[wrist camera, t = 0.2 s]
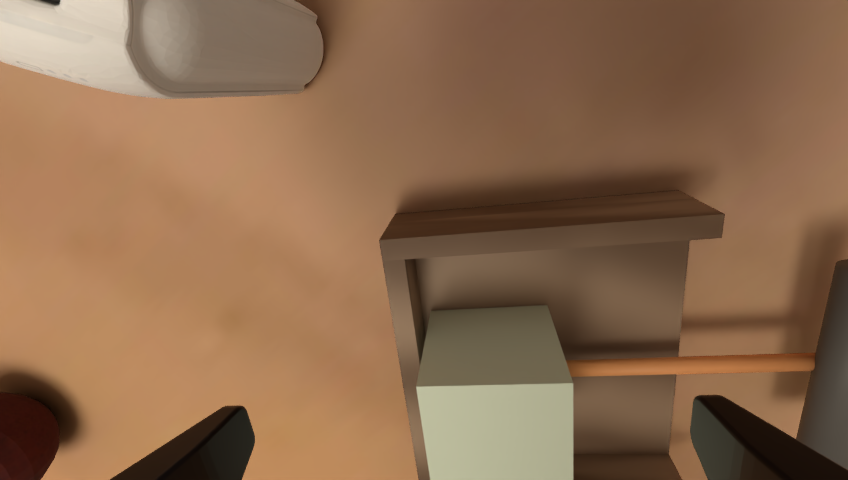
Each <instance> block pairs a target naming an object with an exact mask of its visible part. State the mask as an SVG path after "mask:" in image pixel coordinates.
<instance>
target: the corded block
mask: <svg viewBox="0 0 848 480" xmlns="http://www.w3.org/2000/svg"><path fill="white" fill-rule="evenodd" d="M790 371H811V376H810V380H809V385H808V389H807V393H806V398H805V402H804V407H803V411H802V415H801V420H800V424H799V429H798V433H797V437H796V440H798V441H800V442H801V443H803V444H805V445H806V446H808V447H810V448H812V449H813V450H815V451H817V452H818V453H820V454H822V455H823V456H825V457H827V458H829V459H830V460H832V461H834V462H835V463H837V464H839V465H840V466H842V467H844V468H845V469H847V470H848V260H841V261H838V262H837V263H836V266H835V270H834V275H833V279H832V283H831V288H830V292H829V297H828V301H827V305H826V310H825V314H824V319H823V323H822V327H821V332H820V336H819V341H818V345H817V349H816V353H793V354H759V355H726V356H693V357H660V358H627V359H593V360H565V357H564V354H563V351H562V348H561V345H560V342H559V339H558V336H557V333H556V330H555V327H554V324H553V321H552V318H551V315H550V312H549V309H548V306H547V305H537V306H517V307H496V308H476V309H455V310H435V311H431V312H430V318H429V323H428V328H427V333H426V338H425V343H424V348H423V354H422V359H421V364H420V369H419V374H418V379H417V385H416V389H417V396H418V403H419V409H420V416H421V422H422V429H423V435H424V442H425V448H426V455H427V462H428V468H429V475H430V480H573V381H572V378H571V377H586V376H627V375H667V374H708V373H749V372H790Z"/></svg>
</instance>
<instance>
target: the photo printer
mask: <svg viewBox="0 0 848 480" xmlns="http://www.w3.org/2000/svg"><path fill="white" fill-rule="evenodd" d="M316 21H317V15H316V14H315V13H314V12H312V11H311V10H309V9H308V8H306V7H305V6H303V5H302V4H300V3H298V2H296V1H295V0H0V61H1V62H4V63H7V64H10V65H14V66H17V67H20V68H24V69H27V70H31V71H34V72H38V73H41V74H45V75H48V76H52V77H55V78H59V79H63V80H66V81H70V82H74V83H78V84H82V85H86V86H90V87H94V88H98V89H102V90H106V91H111V92H116V93H121V94H127V95H134V96H141V97H151V98H164V99H185V98H214V97H239V96H264V95H284V94H298V93H301V92H303V91H304V86H305V84H307V83H309V82H310V81H311V80H312V79H313V78H314V77H315V75H316V74H317V72H318V70H319V68H320V66H321V62H322V58H323V39H322V35H321V32H320V29H319V27H318V26H317V24H316Z"/></svg>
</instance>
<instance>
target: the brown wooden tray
mask: <svg viewBox="0 0 848 480" xmlns="http://www.w3.org/2000/svg"><path fill="white" fill-rule="evenodd" d="M724 216H725V214H724V213H722V212H720V211H718V210H716V209H714V208H712V207H710V206H708V205H706V204H704V203H702V202H700V201H698V200H696V199H694V198H692V197H691V196H689V195H687V194H685V193H683V192H681V191H679V190H676V191H664V192H653V193H641V194H629V195H617V196H605V197H593V198H581V199H570V200H558V201H546V202H534V203H522V204H510V205H498V206H487V207H475V208H463V209H451V210H439V211H427V212H415V213H404V214H395V215H394V217H393V219H392V220H391V222H390V223H389V225H388V227H387V228H386V230H385V232H384V233H383V235H382V236H381V238H380V240H379V242H380V248H381V254H382V260H383V266H384V272H385V278H386V284H387V291H388V297H389V303H390V309H391V315H392V321H393V327H394V333H395V339H396V345H397V351H398V357H399V363H400V369H401V375H402V382H403V388H404V394H405V400H406V406H407V412H408V418H409V424H410V430H411V436H412V442H413V448H414V454H415V460H416V466H417V472H418V479H419V480H430V475H429V468H428V462H427V455H426V448H425V442H424V435H423V429H422V422H421V416H420V409H419V403H418V396H417V389H416V385H417V379H418V374H419V369H420V364H421V359H422V354H423V348H424V343H425V338H426V333H427V328H428V323H429V318H430V312H431V311H435V310H455V309H476V308H496V307H517V306H537V305H547V306H548V309H549V312H550V315H551V318H552V321H553V324H554V327H555V330H556V333H557V336H558V339H559V342H560V345H561V348H562V351H563V354H564V357H565V360H593V359H627V358H660V357H678V352H679V342H680V332H681V322H682V312H683V302H684V291H685V281H686V271H687V261H688V251H689V241H690V240H698V239H713V238H722V232H723V224H724ZM571 378H572V381H573V480H682V479H681V477H680V475H679V473H678V471H677V469H676V467H675V465H674V463H673V462H672V460H671V458H670V456H669V444H670V434H671V424H672V413H673V403H674V393H675V383H676V374H667V375H627V376H586V377H571Z"/></svg>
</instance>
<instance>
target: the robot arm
mask: <svg viewBox="0 0 848 480" xmlns="http://www.w3.org/2000/svg"><path fill="white" fill-rule="evenodd" d="M690 433H691V439H692V443H693V445H694V448H695V450H696V452H697V455H698V457H699V460H700V462H701V464H702V467H703V469H704V471H705V474H706V476H707V478H708V480H848V470H847V469H845V468H844V467H842V466H840V465H839V464H837V463H835V462H834V461H832V460H830V459H829V458H827V457H825V456H823V455H822V454H820V453H818V452H817V451H815V450H813V449H812V448H810V447H808V446H806V445H805V444H803V443H801V442H800V441H798V440H796V439H795V438H793V437H791V436H790V435H788V434H786V433H784V432H783V431H781V430H779V429H778V428H776V427H774V426H773V425H771V424H769V423H767V422H766V421H764V420H762V419H761V418H759V417H757V416H756V415H754V414H752V413H750V412H749V411H747V410H745V409H744V408H742V407H740V406H739V405H737V404H735V403H734V402H732V401H730V400H728V399H727V398H725V397H723V396H720V395H699V396H696V397H695V399H694V402H693V409H692V419H691V428H690ZM254 443H255V436H254V432H253V429H252V426H251V422H250V419H249V416H248V413H247V411H246V409H245V408H244V407H243V406H225V407H222V408H221V409H219V410H218V411H216V412H214V413H213V414H211V415H210V416H208V417H207V418H205V419H203V420H202V421H200V422H199V423H197V424H196V425H194V426H193V427H191V428H189V429H188V430H186V431H185V432H183V433H182V434H180V435H179V436H177V437H175V438H174V439H172V440H171V441H169V442H168V443H166V444H165V445H163V446H161V447H160V448H158V449H157V450H155V451H154V452H152V453H151V454H149V455H147V456H146V457H144V458H143V459H141V460H140V461H138V462H137V463H135V464H133V465H132V466H130V467H129V468H127V469H126V470H124V471H122V472H121V473H119V474H118V475H116V476H115V477H113V478H112V479H110V480H242V477H243V475H244V472H245V469H246V467H247V464H248V461H249V458H250V456H251V453H252V450H253V447H254Z"/></svg>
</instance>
